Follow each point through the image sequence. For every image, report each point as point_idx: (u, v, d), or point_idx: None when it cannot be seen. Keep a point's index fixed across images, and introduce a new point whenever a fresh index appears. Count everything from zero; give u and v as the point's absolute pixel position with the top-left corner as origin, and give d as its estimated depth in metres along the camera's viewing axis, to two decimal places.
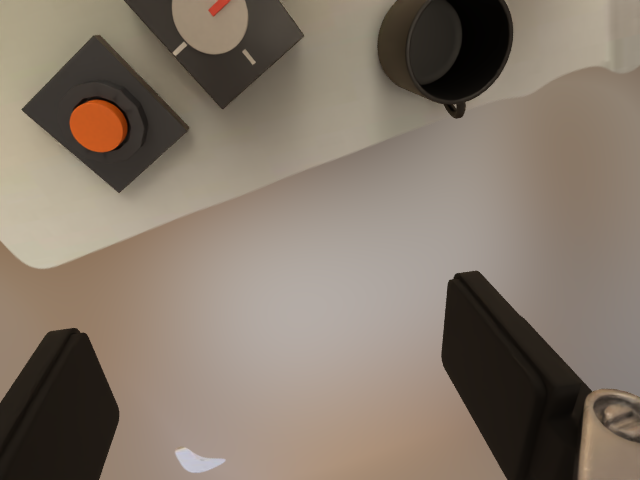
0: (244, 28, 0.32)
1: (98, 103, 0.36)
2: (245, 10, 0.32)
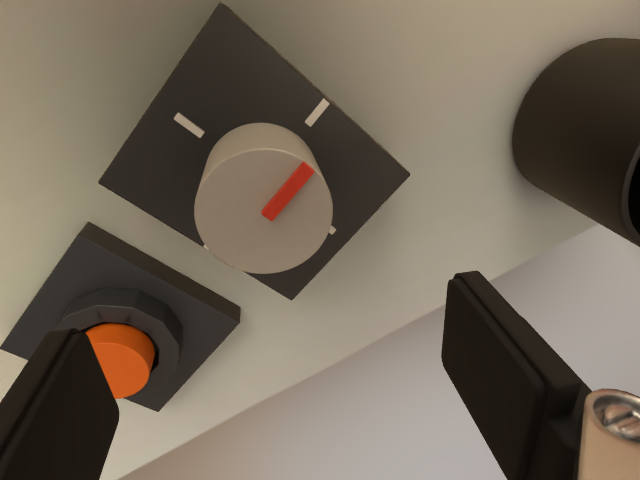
0: (328, 223, 0.17)
1: (104, 340, 0.23)
2: (327, 196, 0.17)
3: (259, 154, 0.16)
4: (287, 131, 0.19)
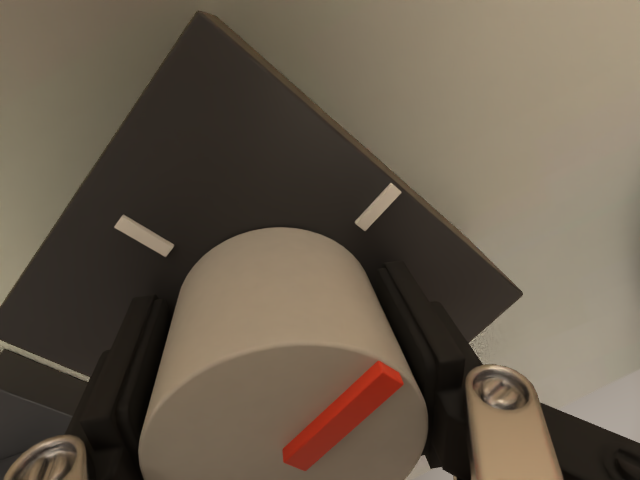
0: (416, 454, 0.09)
1: None
2: (420, 413, 0.08)
3: (282, 355, 0.07)
4: (326, 245, 0.10)
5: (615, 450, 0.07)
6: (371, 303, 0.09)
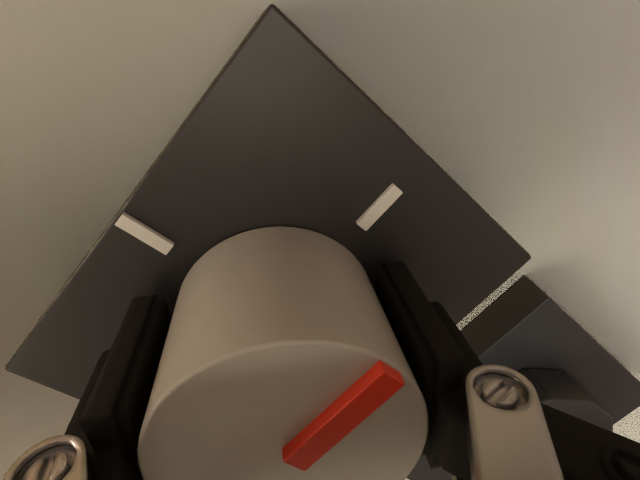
0: (416, 455, 0.09)
1: None
2: (421, 414, 0.08)
3: (283, 353, 0.07)
4: (327, 245, 0.10)
5: (615, 450, 0.07)
6: (372, 303, 0.09)
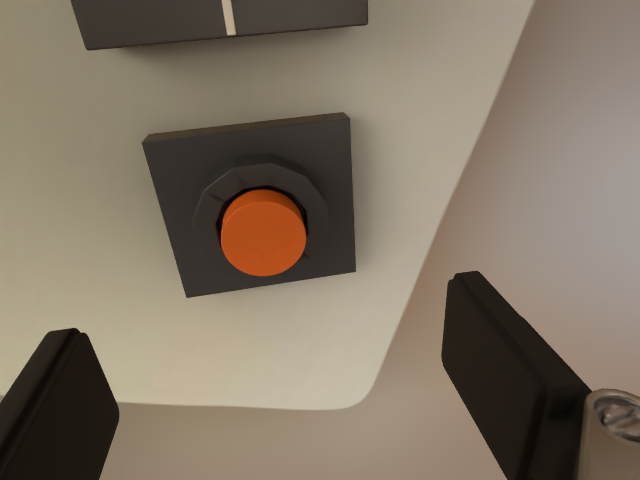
0: None
1: (233, 211, 0.21)
2: None
3: None
4: None
5: None
6: None
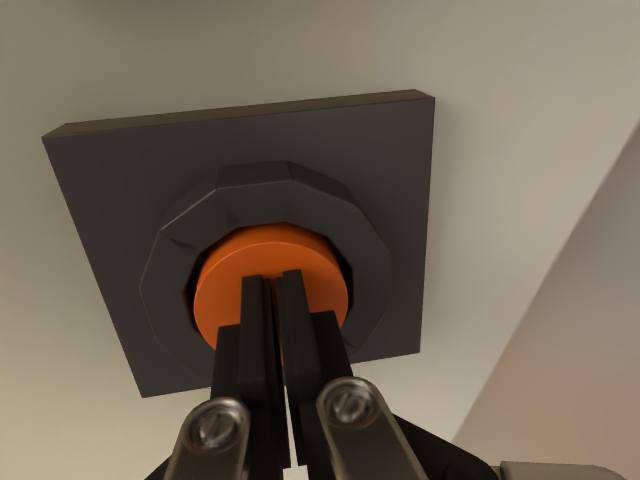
0: None
1: (217, 259, 0.11)
2: None
3: None
4: None
5: (453, 465, 0.07)
6: None
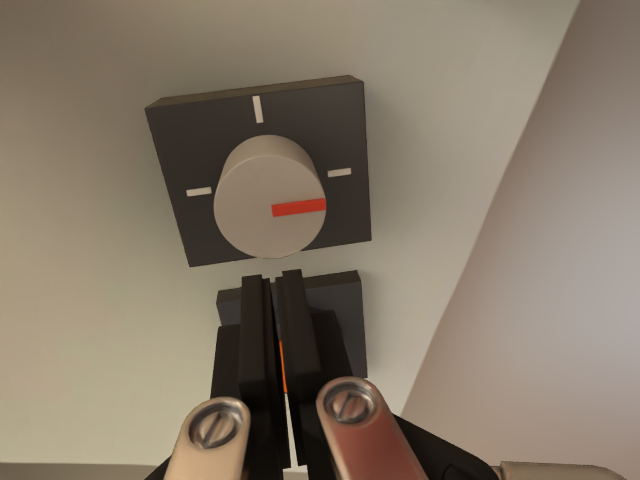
0: (302, 246, 0.22)
1: None
2: (317, 229, 0.21)
3: (304, 171, 0.20)
4: None
5: (453, 465, 0.07)
6: None
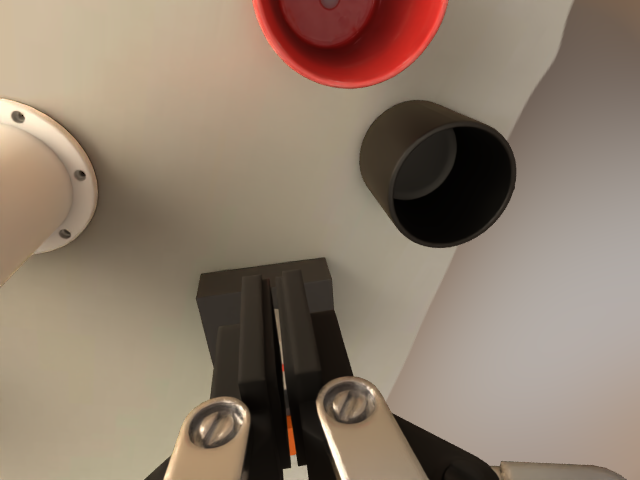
0: None
1: None
2: None
3: None
4: None
5: (453, 465, 0.07)
6: None
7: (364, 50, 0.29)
